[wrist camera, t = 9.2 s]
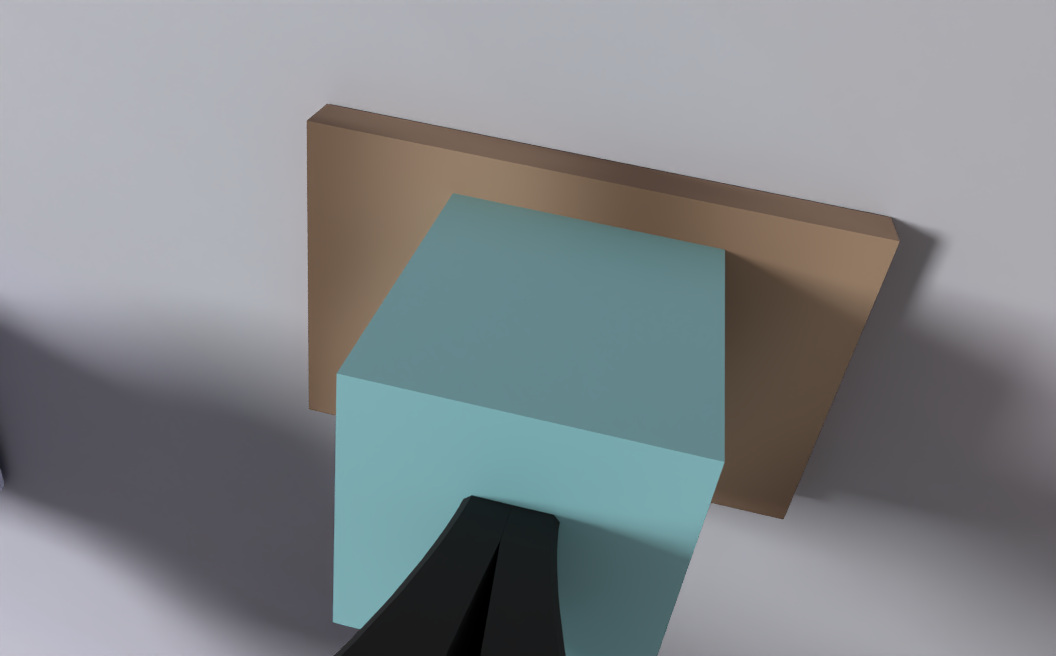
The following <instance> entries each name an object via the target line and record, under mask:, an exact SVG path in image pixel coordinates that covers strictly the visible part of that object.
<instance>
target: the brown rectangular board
mask: <svg viewBox="0 0 1056 656" xmlns="http://www.w3.org/2000/svg"><path fill="white" fill-rule="evenodd" d="M453 193H455V194H460V195H465V196H469V197H474V198H479V199H484V200H489V201H494V202H498V203H503V204H508V205H513V206H518V207H522V208H527V209H532V210H537V211H542V212H546V213H551V214H556V215H561V216H566V217H570V218H575V219H580V220H585V221H590V222H594V223H599V224H604V225H609V226H614V227H619V228H623V229H628V230H633V231H638V232H643V233H647V234H652V235H657V236H662V237H667V238H671V239H676V240H681V241H686V242H691V243H695V244H700V245H705V246H710V247H715V248H719V249H724V250H725V462H724V465H723V468H722V471H721V474H720V477H719V480H718V482H717V485H716V488H715V491H714V494H713V497H712V500H711V503H715V504H719V505H723V506H728V507H732V508H736V509H740V510H745V511H749V512H753V513H758V514H762V515H766V516H771V517H775V518H779V519H784V517H785V515H786V512H787V510H788V507H789V505H790V503H791V500H792V498H793V495H794V493H795V491H796V488H797V486H798V483H799V481H800V479H801V476H802V474H803V472H804V469H805V467H806V464H807V462H808V460H809V457H810V455H811V452H812V450H813V448H814V445H815V443H816V441H817V438H818V436H819V433H820V431H821V429H822V426H823V424H824V421H825V419H826V417H827V414H828V412H829V409H830V407H831V405H832V402H833V400H834V398H835V395H836V393H837V390H838V388H839V386H840V383H841V381H842V378H843V376H844V374H845V371H846V369H847V366H848V364H849V362H850V359H851V357H852V355H853V352H854V350H855V347H856V345H857V343H858V340H859V338H860V335H861V333H862V331H863V328H864V326H865V324H866V321H867V319H868V316H869V314H870V312H871V309H872V307H873V304H874V302H875V300H876V297H877V295H878V292H879V290H880V288H881V285H882V283H883V281H884V278H885V276H886V273H887V271H888V269H889V266H890V264H891V261H892V259H893V257H894V254H895V252H896V249H897V247H898V245H899V242H900V240H899V238H898V235H897V232H896V229H895V227H894V224H893V221H892V219H891V217H886V216H881V215H877V214H872V213H867V212H862V211H857V210H852V209H847V208H842V207H837V206H832V205H827V204H822V203H817V202H812V201H807V200H802V199H797V198H792V197H787V196H782V195H777V194H772V193H767V192H762V191H757V190H752V189H747V188H742V187H737V186H732V185H727V184H722V183H718V182H713V181H708V180H703V179H698V178H693V177H688V176H683V175H678V174H673V173H668V172H663V171H658V170H653V169H648V168H643V167H638V166H633V165H628V164H623V163H618V162H613V161H608V160H603V159H598V158H593V157H588V156H583V155H578V154H573V153H568V152H563V151H558V150H554V149H549V148H544V147H539V146H534V145H529V144H524V143H519V142H514V141H509V140H504V139H499V138H494V137H489V136H484V135H479V134H474V133H469V132H464V131H459V130H454V129H449V128H444V127H439V126H434V125H429V124H424V123H419V122H414V121H409V120H404V119H399V118H394V117H390V116H385V115H380V114H375V113H370V112H365V111H360V110H355V109H350V108H345V107H340V106H335V105H330V104H326V105H325V106H324V107H323V108H322V109H320V110H319V111H318V112H317V113H316V114H314V115H313V116H312V117H311V118H310V119H308V120H307V211H308V343H309V409H310V410H315V411H319V412H323V413H328V414H332V415H336V380H337V372H338V371H339V369H340V367H341V366H342V364H343V363H344V361H345V360H346V358H347V357H348V355H349V353H350V352H351V350H352V349H353V347H354V346H355V344H356V343H357V341H358V340H359V338H360V336H361V335H362V333H363V332H364V330H365V329H366V327H367V326H368V324H369V322H370V321H371V319H372V318H373V316H374V315H375V313H376V312H377V310H378V309H379V307H380V305H381V304H382V302H383V301H384V299H385V298H386V296H387V295H388V293H389V292H390V290H391V288H392V287H393V285H394V284H395V282H396V281H397V279H398V278H399V276H400V274H401V273H402V271H403V270H404V268H405V267H406V265H407V264H408V262H409V261H410V259H411V257H412V256H413V254H414V253H415V251H416V250H417V248H418V247H419V245H420V243H421V242H422V240H423V239H424V237H425V236H426V234H427V233H428V231H429V230H430V228H431V226H432V225H433V223H434V222H435V220H436V219H437V217H438V216H439V214H440V212H441V211H442V209H443V208H444V206H445V205H446V203H447V202H448V200H449V199H450V197H451V195H452V194H453Z"/></svg>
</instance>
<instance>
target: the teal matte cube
mask: <svg viewBox="0 0 1056 656" xmlns="http://www.w3.org/2000/svg"><path fill="white" fill-rule="evenodd" d="M724 462H725V250H724V249H719V248H715V247H710V246H705V245H700V244H695V243H691V242H686V241H681V240H676V239H671V238H667V237H662V236H657V235H652V234H647V233H643V232H638V231H633V230H628V229H623V228H619V227H614V226H609V225H604V224H599V223H594V222H590V221H585V220H580V219H575V218H570V217H566V216H561V215H556V214H551V213H546V212H542V211H537V210H532V209H527V208H522V207H518V206H513V205H508V204H503V203H498V202H494V201H489V200H484V199H479V198H474V197H469V196H465V195H460V194H455V193H453V194H452V195H451V197H450V199H449V200H448V202H447V203H446V205H445V206H444V208H443V209H442V211H441V212H440V214H439V216H438V217H437V219H436V220H435V222H434V223H433V225H432V226H431V228H430V230H429V231H428V233H427V234H426V236H425V237H424V239H423V240H422V242H421V243H420V245H419V247H418V248H417V250H416V251H415V253H414V254H413V256H412V257H411V259H410V261H409V262H408V264H407V265H406V267H405V268H404V270H403V271H402V273H401V274H400V276H399V278H398V279H397V281H396V282H395V284H394V285H393V287H392V288H391V290H390V292H389V293H388V295H387V296H386V298H385V299H384V301H383V302H382V304H381V305H380V307H379V309H378V310H377V312H376V313H375V315H374V316H373V318H372V319H371V321H370V322H369V324H368V326H367V327H366V329H365V330H364V332H363V333H362V335H361V336H360V338H359V340H358V341H357V343H356V344H355V346H354V347H353V349H352V350H351V352H350V353H349V355H348V357H347V358H346V360H345V361H344V363H343V364H342V366H341V367H340V369H339V371H338V372H337V380H336V446H335V513H334V579H333V623H337V624H341V625H345V626H349V627H353V628H357V629H361V628H362V627H363V626H364V625H365V624H366V623H367V622H368V621H369V619H370V618H371V617H372V616H373V615H374V614H375V613H376V612H377V611H378V610H379V609H380V608H381V607H382V606H383V605H384V604H385V602H386V601H387V600H388V599H389V598H390V597H391V596H392V594H393V593H394V592H395V591H396V590H397V589H398V587H399V586H400V585H401V584H402V583H403V581H404V580H405V579H406V578H407V577H408V575H409V574H410V573H411V572H412V571H413V569H414V568H415V567H416V566H417V565H418V563H419V562H420V561H421V560H422V558H423V557H424V556H425V554H426V553H427V552H428V551H429V549H430V548H431V547H432V545H433V544H434V543H435V541H436V540H437V539H438V537H439V536H440V534H441V533H442V532H443V530H444V529H445V527H446V526H447V524H448V523H449V521H450V520H451V518H452V517H453V515H454V514H455V512H456V511H457V509H458V507H459V506H460V504H461V502H462V500H463V499H464V498H467V497H469V496H471V495H473V496H477V497H481V498H485V499H489V500H493V501H498V502H502V503H506V504H510V505H514V506H519V507H523V508H527V509H532V510H536V511H540V512H545V513H549V514H553V515H555V517H556V518H557V519H558V520H559V522H560V525H559V531H558V544H557V574H558V594H559V605H560V615H561V623H562V631H563V639H564V647H565V654H566V656H657V655H658V652H659V649H660V646H661V643H662V640H663V637H664V635H665V632H666V629H667V626H668V623H669V620H670V617H671V614H672V612H673V609H674V606H675V603H676V600H677V597H678V594H679V592H680V589H681V586H682V583H683V580H684V577H685V574H686V571H687V569H688V566H689V563H690V560H691V557H692V554H693V551H694V548H695V546H696V543H697V540H698V537H699V534H700V531H701V528H702V526H703V523H704V520H705V517H706V514H707V511H708V508H709V505H710V503H711V500H712V497H713V494H714V491H715V488H716V485H717V482H718V480H719V477H720V474H721V471H722V468H723V465H724Z"/></svg>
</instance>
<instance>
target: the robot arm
mask: <svg viewBox="0 0 1056 656" xmlns="http://www.w3.org/2000/svg"><path fill="white" fill-rule="evenodd" d="M3 487H4V481H3V477H2V473H1V470H0V490H1V489H2V488H3ZM559 525H560V522H559V520H558V519H557V518H556V517H555V515H553V514H549V513H545V512H540V511H536V510H532V509H527V508H523V507H519V506H514V505H510V504H506V503H502V502H498V501H493V500H489V499H485V498H481V497H477V496H473V495H471V496H469V497H467V498H464V499H463V500H462V502H461V504H460V506H459V507H458V509H457V511H456V512H455V514H454V515H453V517H452V518H451V520H450V521H449V523H448V524H447V526H446V527H445V529H444V530H443V532H442V533H441V534H440V536H439V537H438V539H437V540H436V541H435V543H434V544H433V545H432V547H431V548H430V549H429V551H428V552H427V553H426V554H425V556H424V557H423V558H422V560H421V561H420V562H419V563H418V565H417V566H416V567H415V568H414V569H413V571H412V572H411V573H410V574H409V575H408V577H407V578H406V579H405V580H404V581H403V583H402V584H401V585H400V586H399V587H398V589H397V590H396V591H395V592H394V593H393V594H392V596H391V597H390V598H389V599H388V600H387V601H386V602H385V604H384V605H383V606H382V607H381V608H380V609H379V610H378V611H377V612H376V613H375V614H374V615H373V616H372V617H371V618H370V619H369V621H368V622H367V623H366V624H365V625H364V626H363V627H362V628H361V629H360V630H359V631H358V632H357V633H356V634H355V635H354V636H353V638H352V639H351V640H350V641H349V642H348V643H347V644H346V645H345V646H344V647H343V648H342V649H341V650H340V651H339V652H337V653H336V654H335V655H334V656H566V654H565V647H564V639H563V631H562V623H561V615H560V605H559V594H558V574H557V544H558V531H559Z"/></svg>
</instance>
